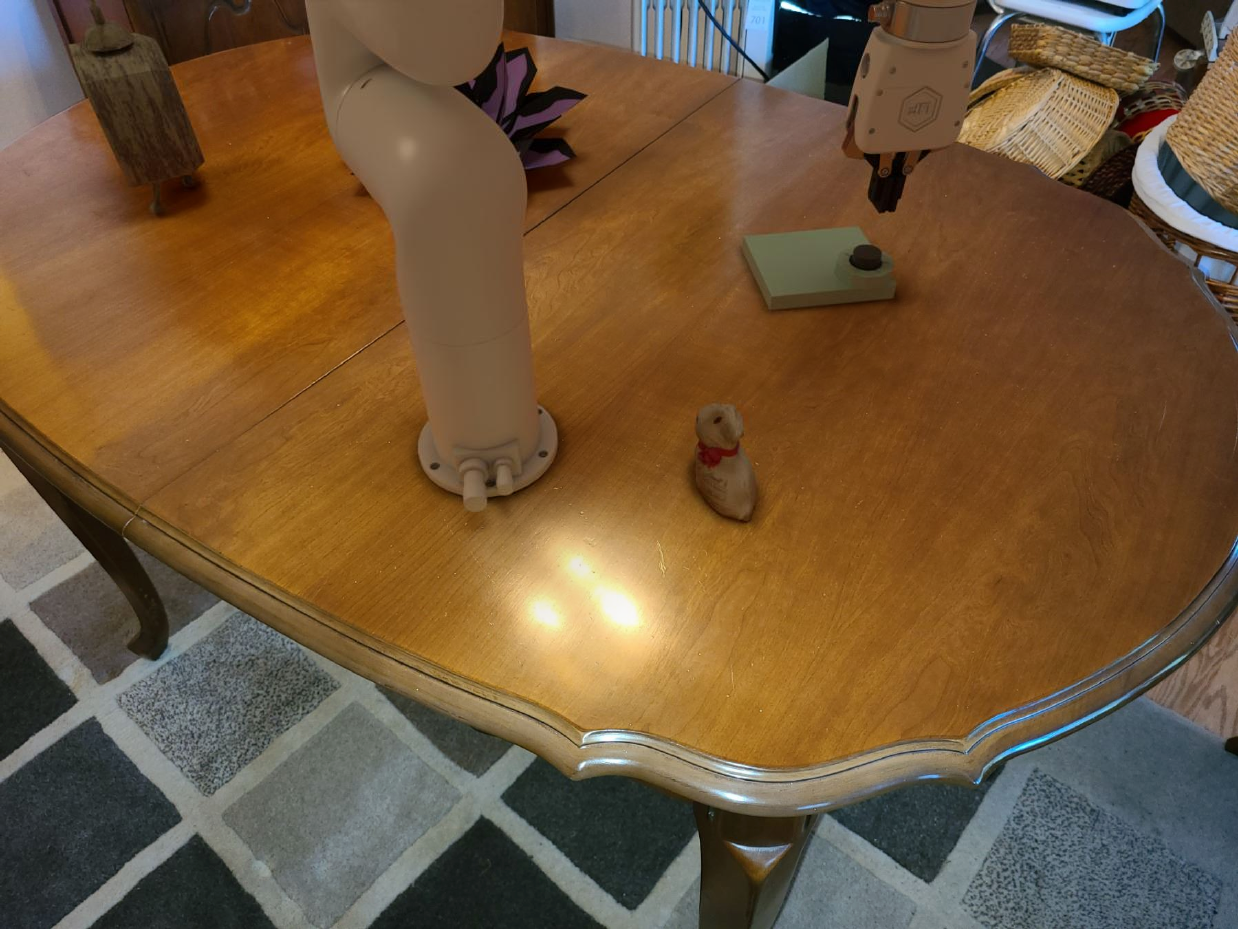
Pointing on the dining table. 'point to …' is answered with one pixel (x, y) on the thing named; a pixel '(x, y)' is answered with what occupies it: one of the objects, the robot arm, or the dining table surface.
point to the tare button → (866, 257)
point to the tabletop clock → (137, 105)
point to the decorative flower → (522, 106)
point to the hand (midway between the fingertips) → (881, 205)
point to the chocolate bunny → (724, 462)
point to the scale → (815, 268)
